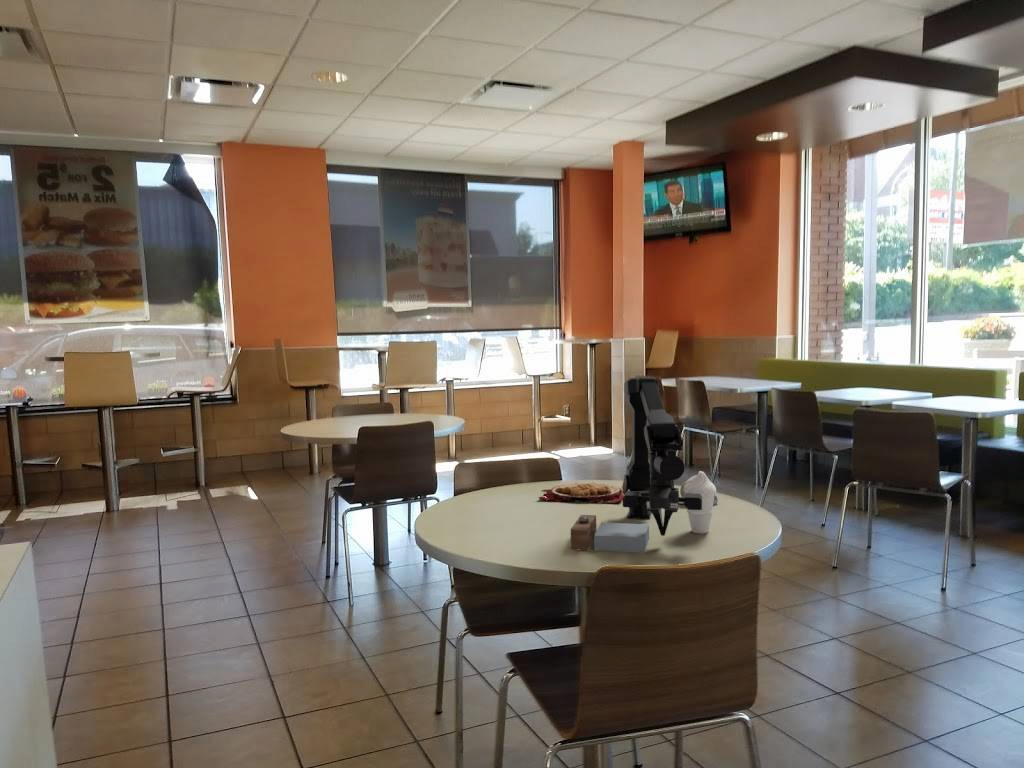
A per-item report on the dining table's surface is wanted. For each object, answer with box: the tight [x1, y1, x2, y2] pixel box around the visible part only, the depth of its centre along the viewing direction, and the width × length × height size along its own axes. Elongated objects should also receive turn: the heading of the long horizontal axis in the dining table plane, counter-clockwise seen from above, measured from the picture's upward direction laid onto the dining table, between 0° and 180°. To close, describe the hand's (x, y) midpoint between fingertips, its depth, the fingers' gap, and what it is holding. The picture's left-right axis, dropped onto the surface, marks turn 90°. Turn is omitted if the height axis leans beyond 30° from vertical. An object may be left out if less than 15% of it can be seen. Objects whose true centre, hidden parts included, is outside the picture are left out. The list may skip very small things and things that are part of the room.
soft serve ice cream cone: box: [683, 470, 717, 534], centre depth 188 cm, size 8×8×16 cm
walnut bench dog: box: [570, 514, 597, 551], centre depth 183 cm, size 14×4×6 cm, turn 164°
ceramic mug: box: [679, 474, 719, 506], centre depth 219 cm, size 11×8×8 cm
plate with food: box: [538, 482, 624, 505], centre depth 235 cm, size 24×26×3 cm
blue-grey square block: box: [593, 521, 650, 554], centre depth 180 cm, size 12×12×4 cm
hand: (663, 535), depth 177 cm, fingers closed
